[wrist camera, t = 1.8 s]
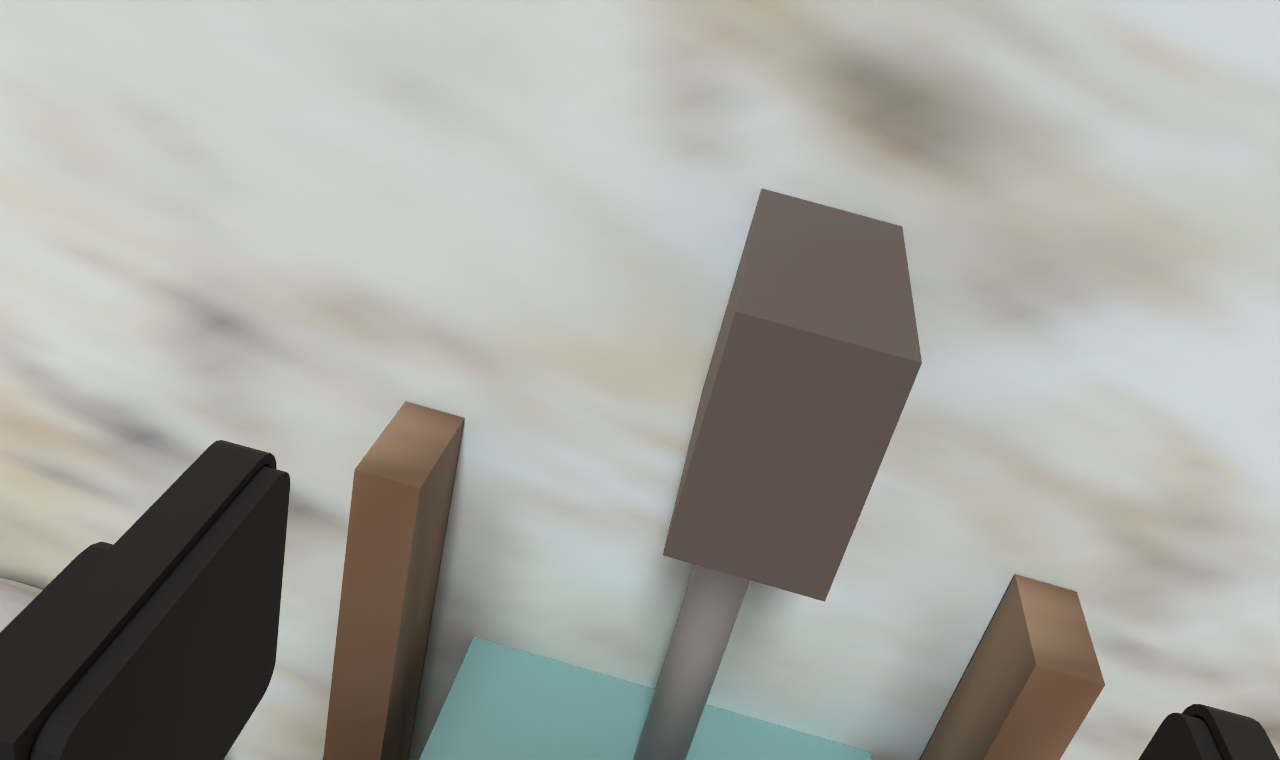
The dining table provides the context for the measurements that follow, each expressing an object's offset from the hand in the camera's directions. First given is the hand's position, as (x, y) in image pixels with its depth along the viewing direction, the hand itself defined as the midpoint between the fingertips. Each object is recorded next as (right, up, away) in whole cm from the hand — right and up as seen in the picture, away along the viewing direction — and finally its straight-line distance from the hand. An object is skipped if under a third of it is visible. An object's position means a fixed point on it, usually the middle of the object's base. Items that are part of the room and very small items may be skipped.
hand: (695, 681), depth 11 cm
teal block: (+1, -2, +11) cm, 11 cm away
